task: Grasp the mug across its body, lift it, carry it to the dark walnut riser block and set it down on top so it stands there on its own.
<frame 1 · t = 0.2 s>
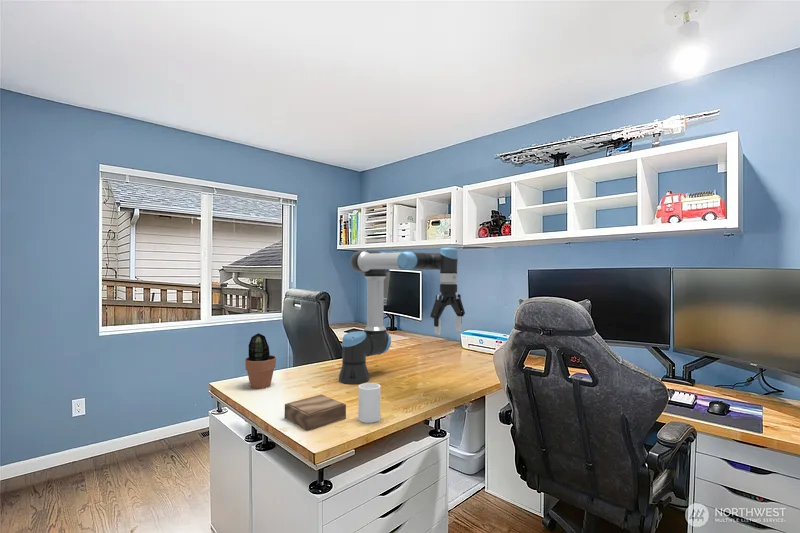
hand: (448, 332, 166), 28 cm above the table, fingers open, 13 cm apart
mug: (369, 417, 143), on the table
riser: (315, 417, 142), on the table
potted plant: (260, 386, 180), on the table
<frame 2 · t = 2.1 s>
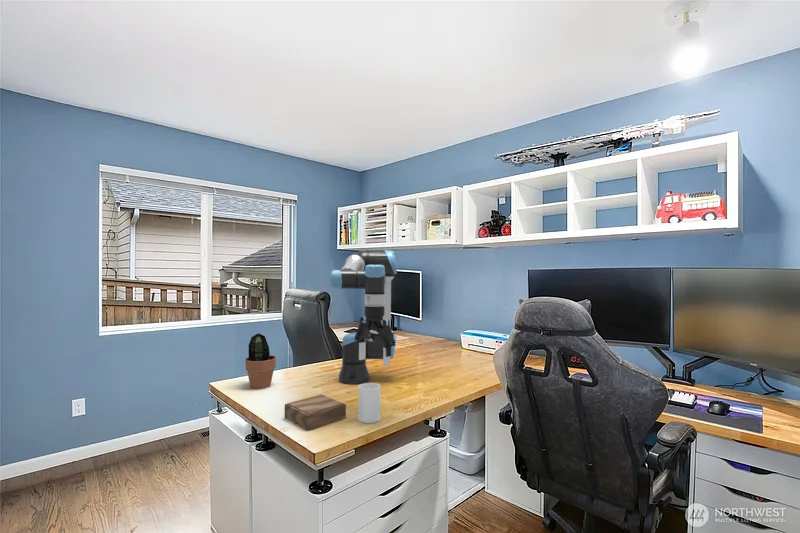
hand: (374, 362, 144), 20 cm above the table, fingers open, 13 cm apart
nothing on the table moved.
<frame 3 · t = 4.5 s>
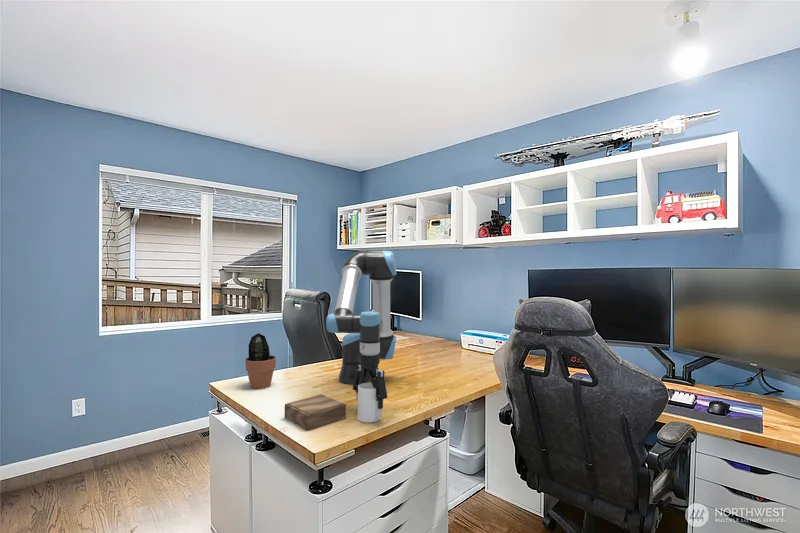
hand: (369, 413, 143), 1 cm above the table, fingers closed on mug, 10 cm apart
mug: (368, 417, 143), on the table, touching gripper
everything else where it was.
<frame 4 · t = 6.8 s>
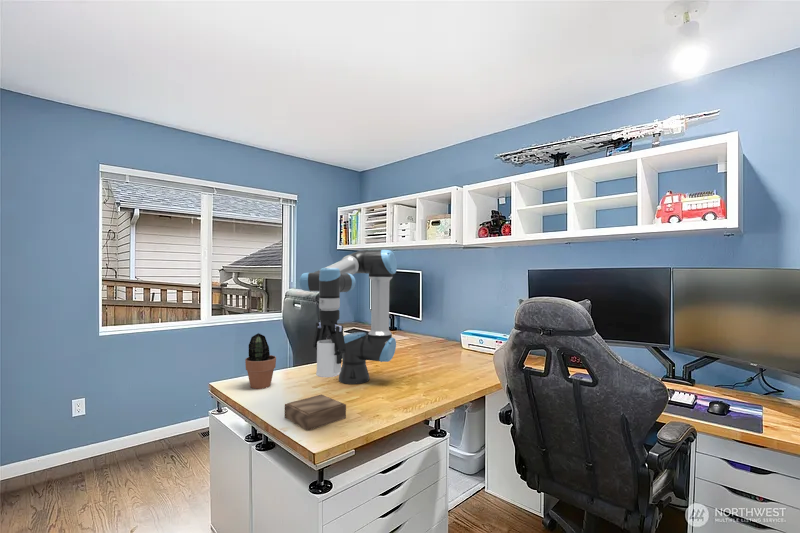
hand: (328, 369, 142), 18 cm above the table, fingers closed on mug, 10 cm apart
mug: (328, 373, 142), point 16 cm above the table, touching gripper
everything else where it was.
when the fingers open (8 cm above the table, at t = 9.5 s): mug stays where it is, resting on riser.
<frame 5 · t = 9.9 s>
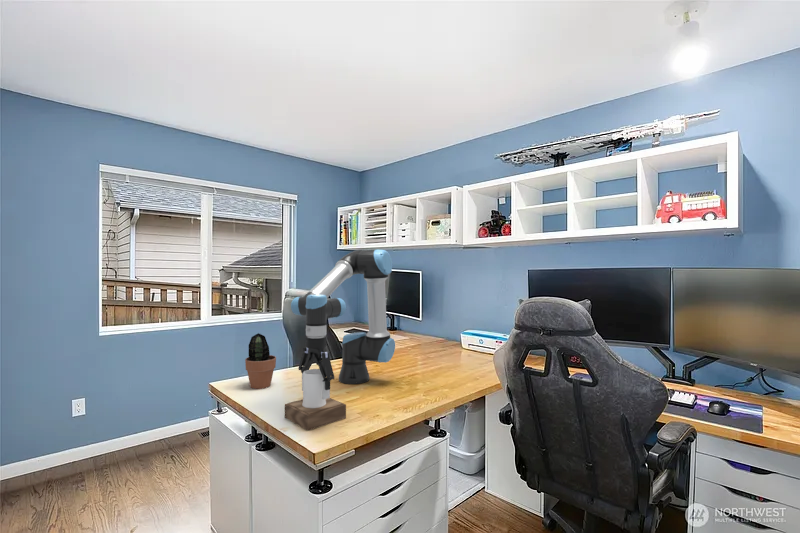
hand: (315, 394, 142), 9 cm above the table, fingers open, 13 cm apart
mug: (314, 403, 142), point 5 cm above the table, touching riser
everything else where it was.
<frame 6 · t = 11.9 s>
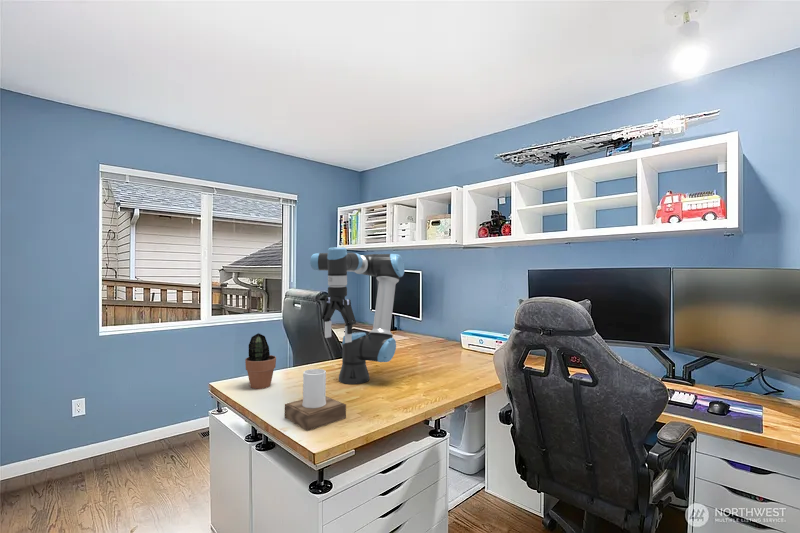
hand: (337, 339, 152), 27 cm above the table, fingers open, 13 cm apart
nothing on the table moved.
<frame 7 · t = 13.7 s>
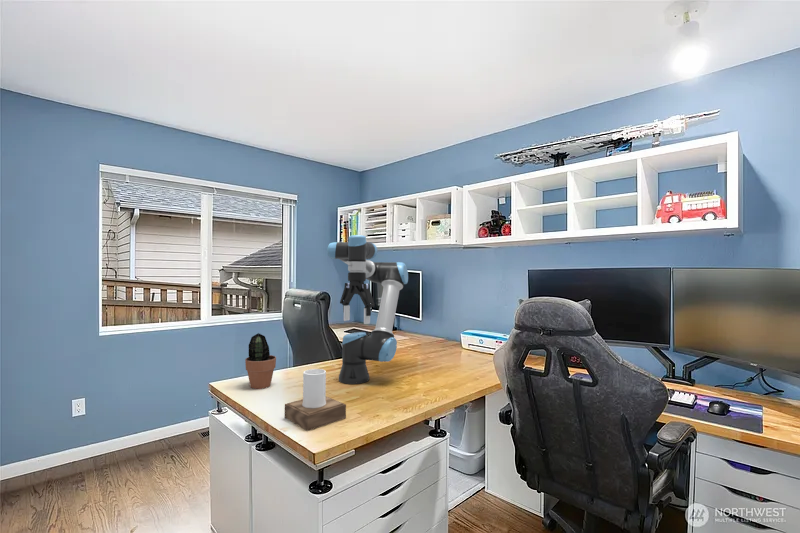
hand: (356, 322, 162), 33 cm above the table, fingers open, 13 cm apart
nothing on the table moved.
at the end: mug inside the target area on the riser (0.6 cm from its centre), point 5.1 cm above the riser's base; mug tilted 0°; the gripper is holding nothing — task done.
